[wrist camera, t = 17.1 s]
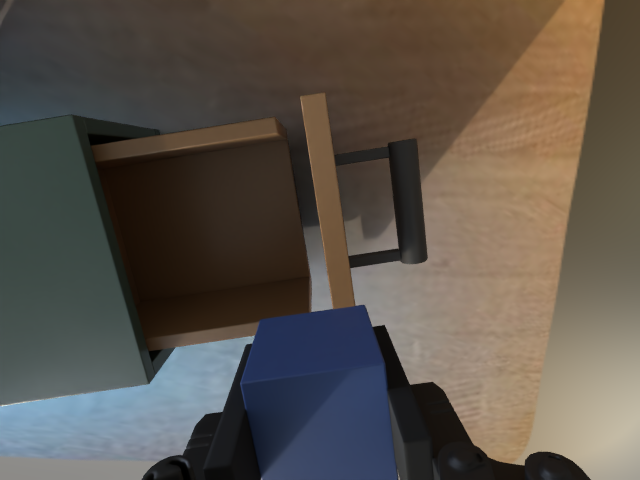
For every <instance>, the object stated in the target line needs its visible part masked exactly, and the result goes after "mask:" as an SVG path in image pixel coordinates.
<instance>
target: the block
mask: <svg viewBox="0 0 640 480" xmlns="http://www.w3.org/2000/svg"><path fill="white" fill-rule="evenodd" d="M240 385H241V390H242V394H243V399H244V403H245V408H246V412H247V417H248V421H249V426H250V430H251V435H252V439H253V444H254V448H255V453H256V458H257V462H258V467H259V471H260V476H261V480H398V471H397V465H396V462H395V455H394V446H393V438H392V429H391V420H390V412H389V403H388V394H387V390H388V383H387V375H386V366H385V362H384V359H383V356H382V353H381V350H380V347H379V344H378V341H377V338H376V336H375V333H374V330H373V327H372V324H371V321H370V318H369V315H368V312H367V310H366V307H365V305H359V306H352V307H345V308H338V309H331V310H324V311H317V312H310V313H303V314H296V315H289V316H281V317H274V318H267V319H261V320H260V322H259V325H258V328H257V331H256V335H255V338H254V341H253V344H252V347H251V351H250V354H249V357H248V360H247V364H246V367H245V370H244V373H243V376H242V380H241V383H240Z"/></svg>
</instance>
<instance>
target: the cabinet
mask: <svg viewBox="0 0 640 480" xmlns="http://www.w3.org/2000/svg"><path fill="white" fill-rule="evenodd" d="M156 135H160V131H159V130H156V129H150V128H144V127H138V126H133V125H127V124H121V123H115V122H110V121H104V120H98V119H93V118H87V117H82V116H77V115H65V116H59V117H53V118H47V119H40V120H34V121H28V122H22V123H15V124H9V125H3V126H0V406H5V405H12V404H18V403H25V402H32V401H39V400H45V399H52V398H59V397H66V396H72V395H79V394H86V393H92V392H99V391H106V390H113V389H119V388H126V387H133V386H140V385H146V384H150V382H151V381H152V379H153V378H154V377H155V375H156V374H157V372H158V371H159V370H160V368H161V367H162V365H163V364H164V363H165V361H166V360H167V359H168V357H169V356H170V354H171V353H172V352H173V350H174V349H175V347H174V348H167V349H161V350H154V351H148V348H147V345H146V341H145V338H144V334H143V331H142V327H141V324H140V320H139V316H138V313H137V309H136V306H135V302H134V299H133V295H132V292H131V288H130V284H129V281H128V277H127V274H126V270H125V267H124V263H123V260H122V256H121V253H120V249H119V245H118V242H117V238H116V235H115V231H114V228H113V224H112V221H111V217H110V213H109V210H108V206H107V203H106V199H105V196H104V192H103V189H102V185H101V181H100V178H99V174H98V171H97V167H96V164H95V160H94V157H93V153H92V150H91V146H93V145H99V144H105V143H111V142H118V141H124V140H130V139H137V138H143V137H149V136H156Z"/></svg>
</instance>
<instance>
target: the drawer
mask: <svg viewBox="0 0 640 480" xmlns="http://www.w3.org/2000/svg"><path fill="white" fill-rule="evenodd" d="M300 100H301V106H302V113H303V119H304V126H305V132H306V139H307V145H308V151H309V158H310V164H311V171H312V177H313V184H314V190H315V196H316V203H317V209H318V216H319V222H320V229H321V235H322V242H323V248H324V254H325V261H326V267H327V274H328V280H329V287H330V293H331V299H332V306H333V309H338V308H345V307H352V306H355V299H354V292H353V285H352V278H351V271H350V268H354V267H360V266H367V265H373V264H380V263H386V262H393V261H401V262H402V263H404V264H418V263H422V262H425V261H426V260H427V259H428V257H427V246H426V235H425V224H424V213H423V203H422V192H421V181H420V170H419V159H418V148H417V139H408V140H402V141H396V142H389V143H388V147H381V148H375V149H369V150H362V151H356V152H349V153H343V154H337V155H334V150H333V143H332V136H331V129H330V122H329V115H328V107H327V100H326V93H325V92H322V93H316V94H310V95H303V96H300ZM91 150H92V153H93V157H94V160H95V164H96V167H97V171H98V174H99V178H100V181H101V185H102V189H103V192H104V196H105V199H106V203H107V206H108V210H109V213H110V217H111V221H112V224H113V228H114V231H115V235H116V238H117V242H118V245H119V249H120V253H121V256H122V260H123V263H124V267H125V270H126V274H127V277H128V281H129V284H130V288H131V292H132V295H133V299H134V302H135V306H136V309H137V313H138V316H139V320H140V324H141V327H142V331H143V334H144V338H145V341H146V345H147V348H148V351H154V350H161V349H167V348H174V347H181V346H187V345H194V344H201V343H207V342H214V341H221V340H227V339H234V338H241V337H247V336H254V335H256V331H257V328H258V325H259V322H260V320H261V319H267V318H274V317H281V316H289V315H296V314H303V313H310V312H311V299H312V281H311V275H310V269H309V263H308V257H307V251H306V245H305V239H304V233H303V227H302V221H301V215H300V209H299V203H298V197H297V191H296V185H295V179H294V173H293V167H292V161H291V155H290V149H289V143H288V137H287V131H286V128H285V127H284V126H283V125H282V124H281V123H280V122H279V121H278V120H277V119H276V118H275V117H269V118H263V119H257V120H250V121H244V122H238V123H231V124H225V125H219V126H212V127H206V128H200V129H193V130H187V131H181V132H175V133H168V134H162V135H156V136H149V137H143V138H137V139H130V140H124V141H118V142H111V143H105V144H99V145H93V146H91ZM383 158H389V163H390V172H391V181H392V190H393V200H394V209H395V218H396V227H397V236H398V246H399V249H392V250H385V251H378V252H372V253H365V254H359V255H352V256H348V250H347V243H346V235H345V228H344V221H343V214H342V207H341V200H340V193H339V186H338V179H337V171H336V166H338V165H344V164H351V163H357V162H364V161H370V160H376V159H383Z"/></svg>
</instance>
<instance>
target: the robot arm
mask: <svg viewBox="0 0 640 480" xmlns="http://www.w3.org/2000/svg"><path fill="white" fill-rule="evenodd" d="M373 330H374V333H375V336H376V338H377V341H378V344H379V347H380V350H381V353H382V356H383V359H384V362H385V366H386V375H387V383H388V390H387V394H388V403H389V412H390V420H391V429H392V438H393V446H394V455H395V462H396V465H397V469H398V473H399V477H400V480H591V479H590V478H589V477H588V476H587V475H586V474H585V473H584V471H583V470H582V469H581V468H580V467H579V466H577V465H576V464H575V463H574V462H573V461H571V460H570V459H568V458H566V457H564V456H562V455H559V454H555V453H551V452H537V453H533V454H530V455H529V457H528V458H527V459H526V460H525V466H523V465H516V464H509V463H503V462H499V461H496V460H493V459H491V458H489V457H487V455H486V454H485V453H484V452H483V451H482V450H481V449H480V448H479V447H477V446H474V444H473V443H472V441H471V439H470V438H469V436H468V434H467V432H466V430H465V429H464V427H463V425H462V423H461V421H460V420H459V418H458V416H457V414H456V412H455V411H454V409H453V407H452V405H451V403H449V400H448V398H447V396H446V394H445V392H444V391H443V390H442V389H441V388H440V387H439V386H437V385H436V384H435V383H433V382H428V383H421V384H413V385H410V384H409V382H408V380H407V377H406V375H405V372H404V370H403V368H402V365H401V363H400V360H399V358H398V356H397V353H396V351H395V349H394V346H393V344H392V341H391V339H390V337H389V334H388V332H387V329H386V327H385V325H382V326H375V327H373ZM251 347H252V344H247V345H246V347H245V349H244V352H243V355H242V358H241V361H240V364H239V367H238V369H237V372H236V375H235V378H234V381H233V384H232V387H231V390H230V392H229V395H228V398H227V401H226V404H225V407H224V410H223V412H219V413H212V414H206V415H205V416H204V417H203V418H202V419H201V420H200V421H199V422H198V423H197V424H196V426H195V428H194V430H193V433H192V435H191V439H190V440H189V442H188V444H187V447H186V449H185V451H184V454H183V456H181V455H176V456H170V457H168V458H165V459H163V460H161V461H159V462H158V463H156V464H155V465H154V466H152V467H151V468H150V469H149V470H148V471H147V473H146V474H145V475H144V476H143V478H142V480H261V476H260V471H259V467H258V462H257V458H256V453H255V448H254V444H253V439H252V435H251V430H250V426H249V421H248V417H247V412H246V408H245V403H244V399H243V394H242V390H241V385H240V383H241V380H242V376H243V373H244V370H245V367H246V364H247V360H248V357H249V354H250V351H251Z"/></svg>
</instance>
